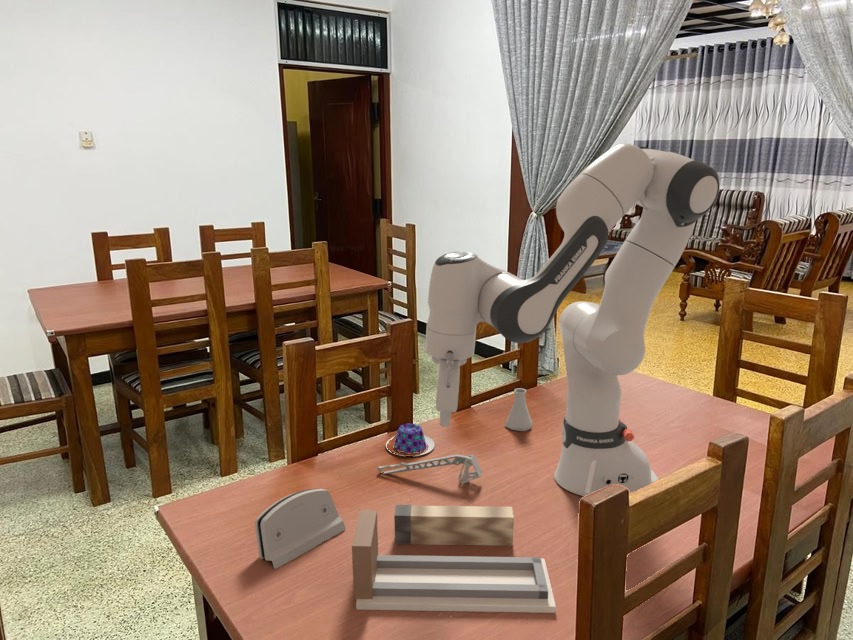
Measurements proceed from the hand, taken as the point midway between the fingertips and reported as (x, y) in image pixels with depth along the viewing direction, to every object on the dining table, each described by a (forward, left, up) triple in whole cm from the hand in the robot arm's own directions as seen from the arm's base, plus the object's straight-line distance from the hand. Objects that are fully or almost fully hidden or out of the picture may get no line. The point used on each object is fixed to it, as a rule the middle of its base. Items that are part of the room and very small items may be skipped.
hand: (445, 413), depth 118 cm
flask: (-20, -45, -24) cm, 55 cm away
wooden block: (-2, +4, -24) cm, 25 cm away
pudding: (+8, -33, -25) cm, 42 cm away
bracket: (+3, -18, -25) cm, 31 cm away
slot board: (-2, +17, -24) cm, 30 cm away
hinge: (+27, +5, -24) cm, 37 cm away
